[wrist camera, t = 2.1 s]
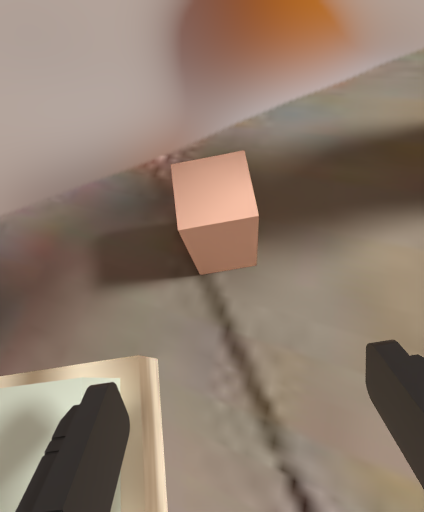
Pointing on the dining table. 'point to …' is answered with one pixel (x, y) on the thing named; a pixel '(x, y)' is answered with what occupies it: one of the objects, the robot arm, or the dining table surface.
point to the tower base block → (141, 423)
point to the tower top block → (35, 431)
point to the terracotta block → (217, 211)
